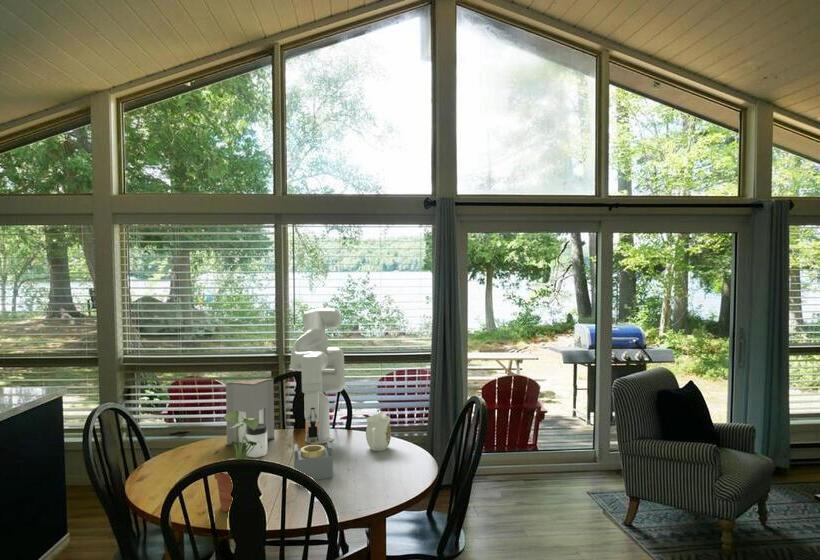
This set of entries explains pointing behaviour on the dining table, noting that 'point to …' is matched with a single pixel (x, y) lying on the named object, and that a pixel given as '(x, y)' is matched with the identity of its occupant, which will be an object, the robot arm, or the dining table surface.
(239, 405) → the cabinet
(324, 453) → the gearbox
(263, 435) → the jar
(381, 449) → the pitcher
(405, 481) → the dining table surface
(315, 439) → the cocktail shaker
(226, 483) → the potted plant
